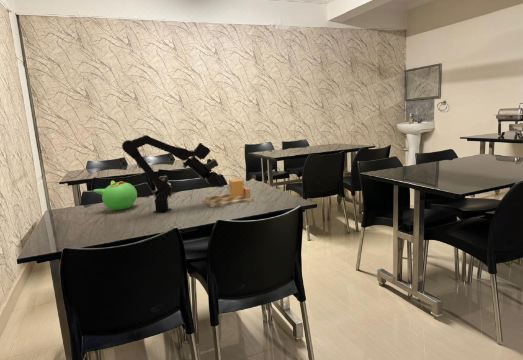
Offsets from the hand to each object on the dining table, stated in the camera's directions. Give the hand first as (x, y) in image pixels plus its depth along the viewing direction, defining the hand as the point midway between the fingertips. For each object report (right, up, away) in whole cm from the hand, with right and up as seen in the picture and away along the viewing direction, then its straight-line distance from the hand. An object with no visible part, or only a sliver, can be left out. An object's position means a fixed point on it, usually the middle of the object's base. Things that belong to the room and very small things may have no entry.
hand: (220, 185), depth 190 cm
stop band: (+12, -6, +6) cm, 15 cm away
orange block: (+9, -6, +5) cm, 11 cm away
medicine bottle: (-34, -7, +21) cm, 41 cm away
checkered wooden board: (+4, -8, +3) cm, 10 cm away
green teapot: (-51, -12, 0) cm, 53 cm away
